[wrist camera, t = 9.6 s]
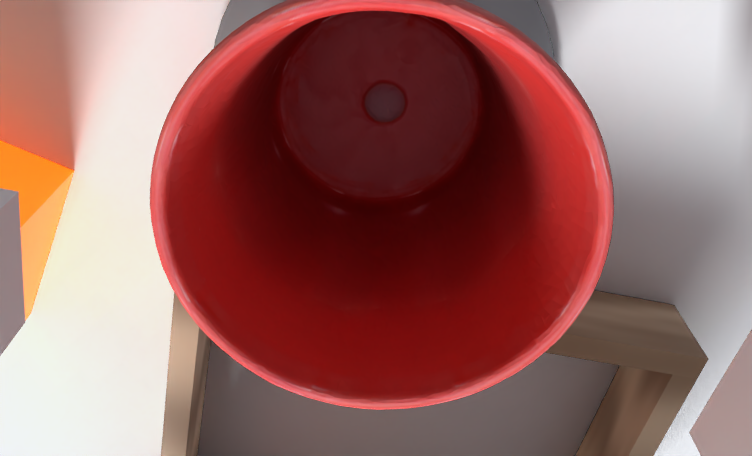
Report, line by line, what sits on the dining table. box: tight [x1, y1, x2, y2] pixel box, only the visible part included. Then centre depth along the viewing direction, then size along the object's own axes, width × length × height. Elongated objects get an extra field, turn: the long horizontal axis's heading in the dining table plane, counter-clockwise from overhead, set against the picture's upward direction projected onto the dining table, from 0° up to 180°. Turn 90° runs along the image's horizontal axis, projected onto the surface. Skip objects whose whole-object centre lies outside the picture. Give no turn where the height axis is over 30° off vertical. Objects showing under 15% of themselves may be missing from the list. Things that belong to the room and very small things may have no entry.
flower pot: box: [150, 0, 614, 410], centre depth 20 cm, size 11×11×10 cm
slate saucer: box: [214, 0, 554, 60], centre depth 24 cm, size 12×12×1 cm
